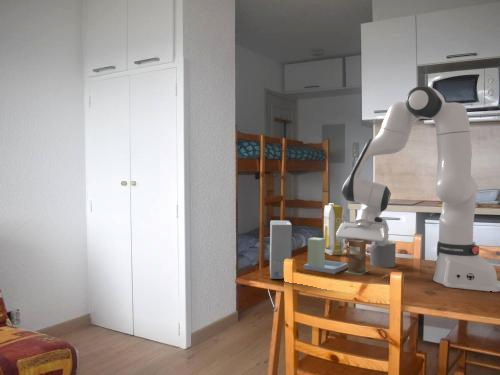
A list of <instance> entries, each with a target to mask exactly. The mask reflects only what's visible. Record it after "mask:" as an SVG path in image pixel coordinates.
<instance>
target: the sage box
mask: <svg viewBox="0 0 500 375" xmlns="http://www.w3.org/2000/svg"><path fill="white" fill-rule="evenodd" d="M325 254H326V253H325V238H324V237H315V236H314V237H310V238H307V263H308V265H311V266H318V267H325V260H326V257H325V256H326V255H325Z"/></svg>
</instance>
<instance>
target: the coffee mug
mask: <svg viewBox="0 0 500 375" xmlns="http://www.w3.org/2000/svg"><path fill="white" fill-rule="evenodd" d="M396 245H397V243H396V242H395V241H393V240H388V242H387V244H386V245H385V246H379V245H377V246H376V248H374V249H373V250H372V252H371V253H369V254H370V257H369V258H370V260H369V261H370V263H369V265H370V266H372V267H377V268H378V267H379V268H394V267H396V251H397V250H396V249H397V248H396Z"/></svg>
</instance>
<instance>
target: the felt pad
mask: <svg viewBox="0 0 500 375" xmlns="http://www.w3.org/2000/svg"><path fill="white" fill-rule="evenodd" d="M368 272H369V270H367V269H365V272H363V273H361V274H360V273H354V272H348V270H346V271H345V270H344V273H345V274H354V275H359V276H363V275H364V274H366V273H368Z"/></svg>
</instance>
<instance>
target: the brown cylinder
mask: <svg viewBox="0 0 500 375" xmlns="http://www.w3.org/2000/svg"><path fill="white" fill-rule="evenodd" d="M348 247H349V248H348V250H347V251H348V255H347V258H348V261H347V263H348V268H347V269H348V272H354V273H360V274H361V273H363V272H365V270H366V264H367V263H366V262H367V261H366V257H367V256H366V255H367V252H366V249H367V244H366V240H358V239H352V240H349V242H348Z"/></svg>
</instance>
